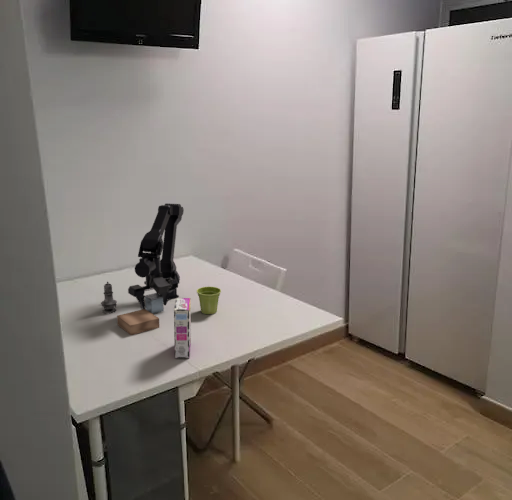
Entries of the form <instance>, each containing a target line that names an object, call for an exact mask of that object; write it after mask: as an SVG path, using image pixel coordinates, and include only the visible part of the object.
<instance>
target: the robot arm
mask: <svg viewBox="0 0 512 500" xmlns="http://www.w3.org/2000/svg"><path fill="white" fill-rule="evenodd" d="M183 215H184V207H183V206H182V205H181V204H180V203H164V204H161V205H159V206H158V208H157V213H156V215H155V216H156V217H155V219H154V222H153V224H152V226H151V229H150V230H149V231H148V232H146V233H145V234H144V236H143V238H142V239H141V241H140V245H139V248H138V255H137V257H138V258H139V262H137V263H136V264H135V267H134V272H135V274H136V276H138V277H140V278H145V281H144V286H141V285H140V284H134V285H129V287H128V288H127V293H128V294H129V295H130V296H133V297H134V298H136V300H137V302H138V303H139V306H140V308H141V310H142V309H146V306H145V295H146V294H145V293H146V292H147V291H152V290H154V292H155V293H158V294H160V295H162V296H163V306H166V305H167V303H168V300H171V299H175V298H179V297H180V296H179V294H178V289H177V288H179V284H180V280H181V279H180V278H181V277H180V274H179V273H178V271H177V265H176V263H175V260H174V258H175V247H176V236H177V228H178V225H179V223H181V221H182V218H183Z"/></svg>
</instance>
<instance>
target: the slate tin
mask: <svg viewBox="0 0 512 500" xmlns="http://www.w3.org/2000/svg"><path fill="white" fill-rule="evenodd" d="M144 295H145V298H144V303H145V309H146V310H147V311H149V312H150V313H152V314H157V313H161V312H164V303H163V296H162V295H160V294H158V293H156V292H154V293H151V294H144Z"/></svg>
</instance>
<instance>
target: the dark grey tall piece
mask: <svg viewBox="0 0 512 500" xmlns="http://www.w3.org/2000/svg"><path fill="white" fill-rule="evenodd" d="M112 285H113V284H111V283H109V281H108V280H107V281H106V283H105V284H104V285H103V289H104V290H103V291H104V292H103V293H102V294H103V295H104V300H102V301H101V302H100V304H101V307H102V308H103V310H102V311H103V312H104V313H103V312H102V313H103V314H106V313H109V314H114V313H116V312H117V309H116V305H117V302H118V301H117V300H115V299H114V297H113V295H114V292H113V286H112ZM113 312H114V313H113Z"/></svg>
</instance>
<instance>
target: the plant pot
mask: <svg viewBox="0 0 512 500" xmlns="http://www.w3.org/2000/svg"><path fill="white" fill-rule="evenodd" d="M221 293H222V289H221V288H219V287H217V286H203V287H199V288H197V289H196V294H197V296H198V300H199V307H200V312H201V313H202V314H204V315H210V314H212V315H213V314H216V313H217V312H218V305H219V299H220V295H221Z"/></svg>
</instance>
